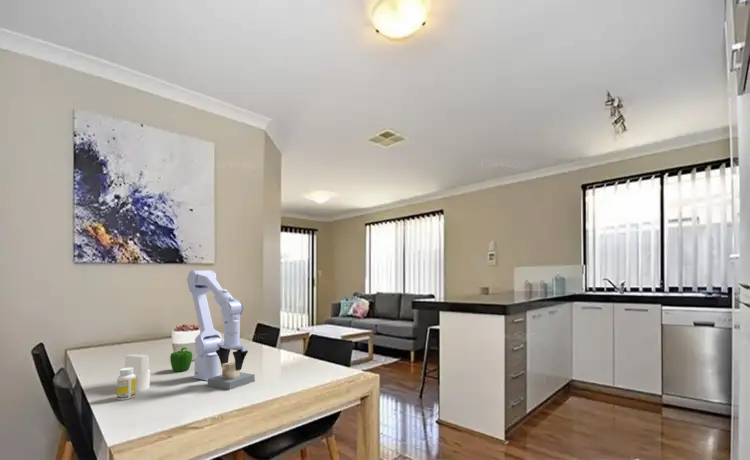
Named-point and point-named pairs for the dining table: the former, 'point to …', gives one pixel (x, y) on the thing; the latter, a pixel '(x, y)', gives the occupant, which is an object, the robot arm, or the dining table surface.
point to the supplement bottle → (126, 384)
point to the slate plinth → (231, 381)
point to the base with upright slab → (139, 370)
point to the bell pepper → (181, 360)
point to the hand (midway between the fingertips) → (231, 368)
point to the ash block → (229, 370)
